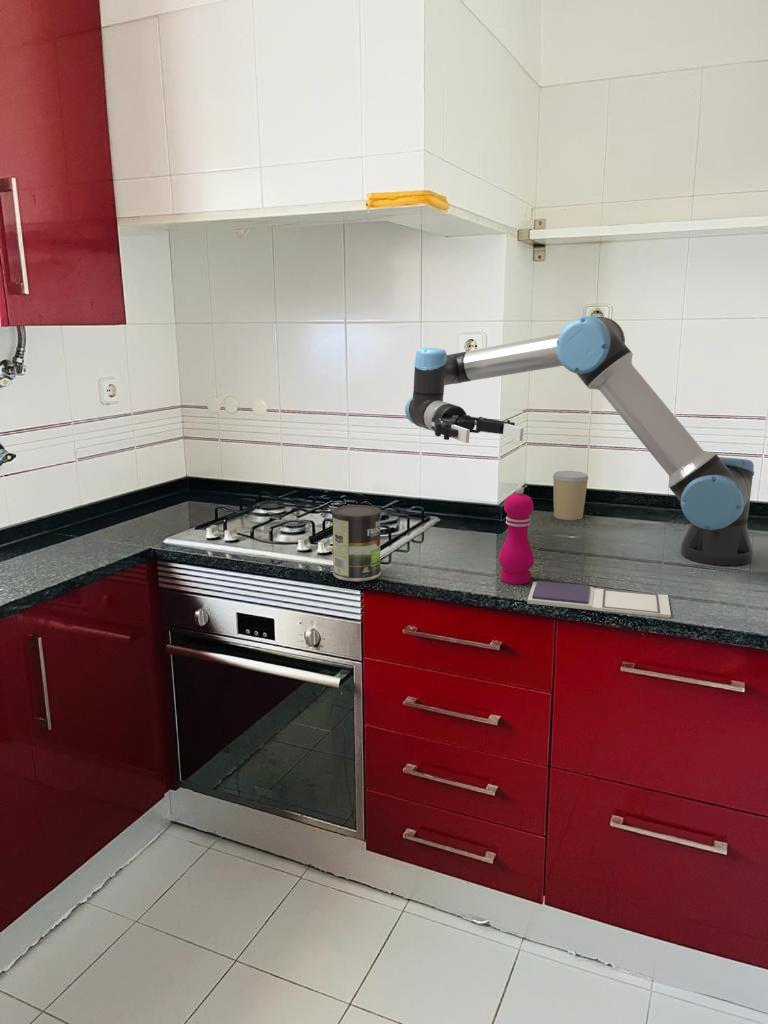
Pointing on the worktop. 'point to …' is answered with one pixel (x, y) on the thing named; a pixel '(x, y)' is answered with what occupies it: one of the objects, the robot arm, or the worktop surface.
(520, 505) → the pepper mill
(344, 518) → the coffee can
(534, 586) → the ink pad
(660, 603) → the board
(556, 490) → the coffee cup
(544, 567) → the worktop surface
